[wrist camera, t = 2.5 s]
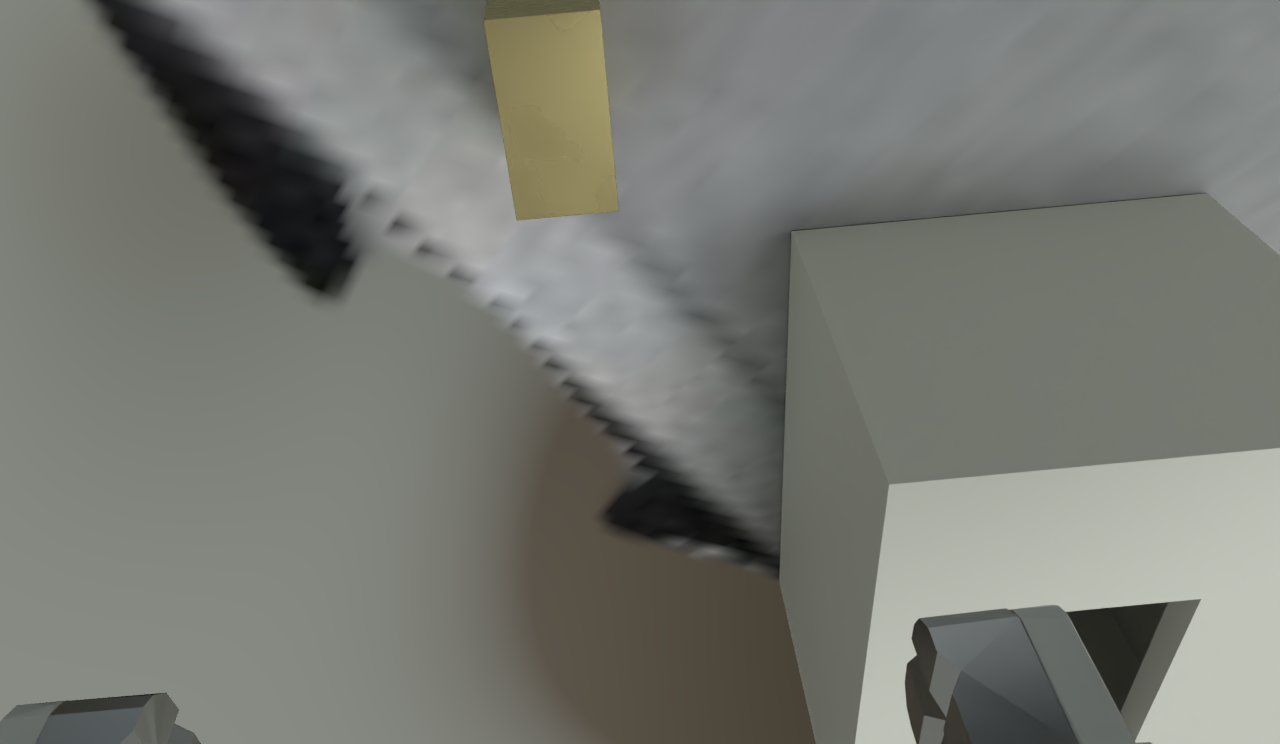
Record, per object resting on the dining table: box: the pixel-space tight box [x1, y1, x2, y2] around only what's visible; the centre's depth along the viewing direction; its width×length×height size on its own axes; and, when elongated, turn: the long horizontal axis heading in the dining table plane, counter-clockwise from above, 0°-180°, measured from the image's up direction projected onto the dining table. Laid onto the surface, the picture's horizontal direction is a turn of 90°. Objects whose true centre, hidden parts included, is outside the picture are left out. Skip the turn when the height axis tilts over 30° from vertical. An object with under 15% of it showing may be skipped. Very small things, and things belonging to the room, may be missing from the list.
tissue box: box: [779, 193, 1280, 744], centre depth 32 cm, size 18×14×12 cm
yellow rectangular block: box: [483, 0, 619, 220], centre depth 25 cm, size 5×3×6 cm, turn 4°
